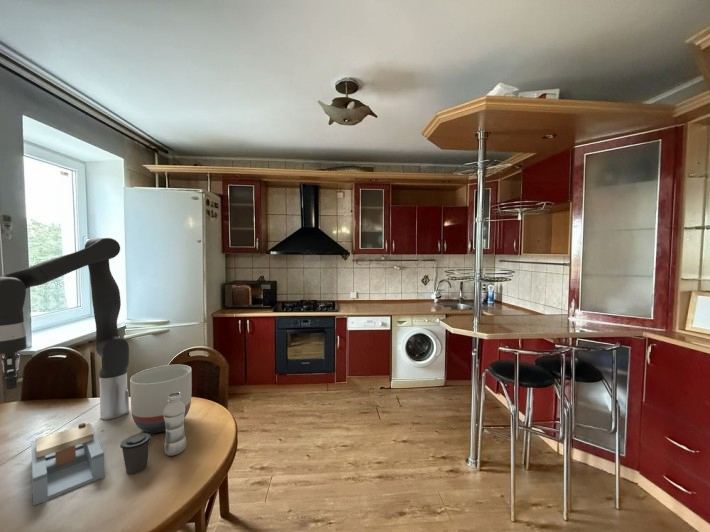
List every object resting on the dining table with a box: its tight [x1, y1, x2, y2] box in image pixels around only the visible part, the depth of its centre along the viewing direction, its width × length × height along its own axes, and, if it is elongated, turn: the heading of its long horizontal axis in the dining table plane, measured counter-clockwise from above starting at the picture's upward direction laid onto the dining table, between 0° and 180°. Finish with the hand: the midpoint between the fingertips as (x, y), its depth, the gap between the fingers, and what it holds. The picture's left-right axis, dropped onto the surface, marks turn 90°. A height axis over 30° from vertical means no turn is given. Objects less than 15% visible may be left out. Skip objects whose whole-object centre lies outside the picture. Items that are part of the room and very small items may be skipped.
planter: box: [129, 364, 193, 434], centre depth 120 cm, size 20×20×21 cm
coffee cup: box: [119, 432, 152, 476], centre depth 97 cm, size 8×8×10 cm
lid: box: [35, 422, 94, 458], centre depth 100 cm, size 13×10×3 cm
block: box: [55, 446, 76, 466], centre depth 100 cm, size 4×4×5 cm
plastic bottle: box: [163, 392, 187, 457], centre depth 105 cm, size 6×7×20 cm
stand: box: [30, 423, 106, 506], centre depth 97 cm, size 15×27×7 cm, turn 47°
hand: (12, 384), depth 103 cm, fingers open, 8 cm apart
